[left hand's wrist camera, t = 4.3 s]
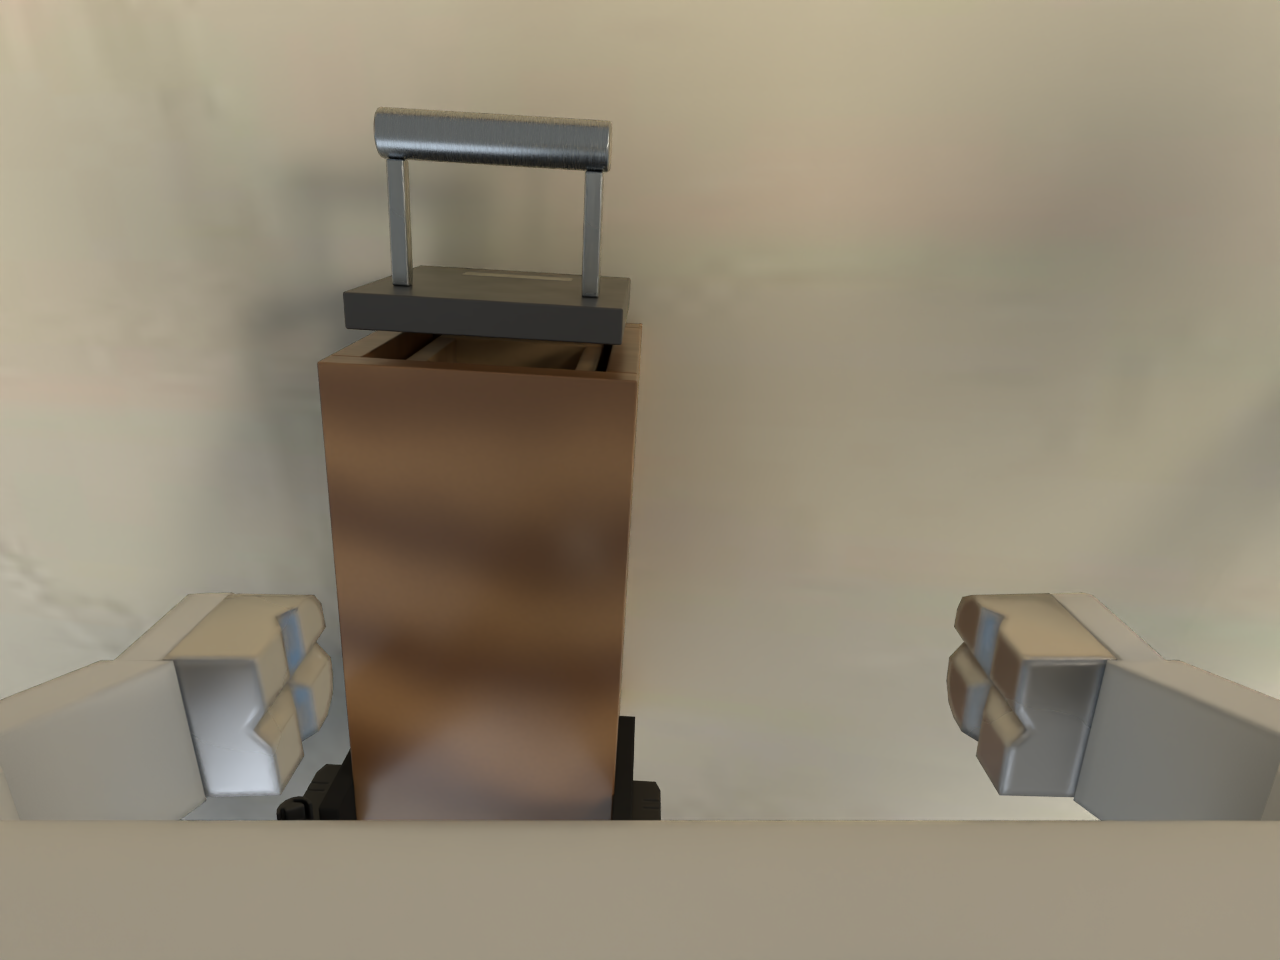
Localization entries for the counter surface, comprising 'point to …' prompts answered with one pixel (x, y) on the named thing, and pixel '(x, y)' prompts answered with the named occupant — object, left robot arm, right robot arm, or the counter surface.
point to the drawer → (495, 299)
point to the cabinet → (480, 577)
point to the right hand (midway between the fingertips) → (505, 733)
